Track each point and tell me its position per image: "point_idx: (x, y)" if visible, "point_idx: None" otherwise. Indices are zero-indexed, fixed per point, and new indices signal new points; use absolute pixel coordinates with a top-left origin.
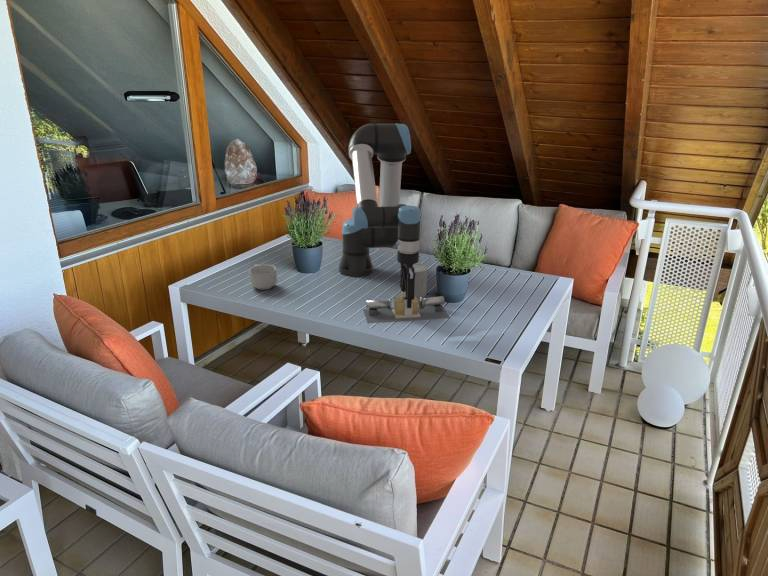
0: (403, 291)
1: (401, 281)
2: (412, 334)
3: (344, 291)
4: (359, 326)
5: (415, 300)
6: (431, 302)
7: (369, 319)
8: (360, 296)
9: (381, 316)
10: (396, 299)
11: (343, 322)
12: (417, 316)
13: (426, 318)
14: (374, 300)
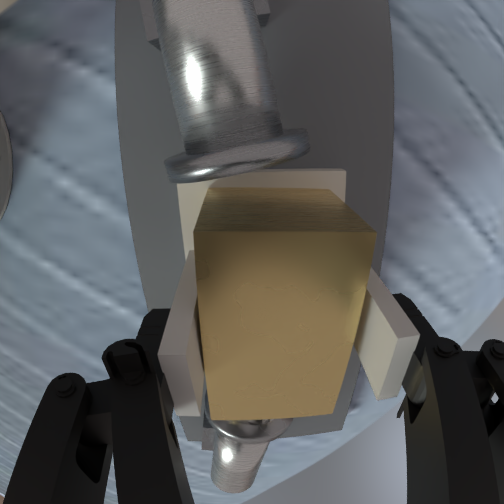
0: (171, 402)
1: (100, 496)
2: (480, 253)
3: (15, 426)
4: (330, 436)
5: (327, 259)
6: (261, 34)
7: (307, 428)
8: (30, 402)
9: None
10: (264, 412)
11: (282, 466)
12: (342, 193)
13: (376, 128)
14: (237, 477)
